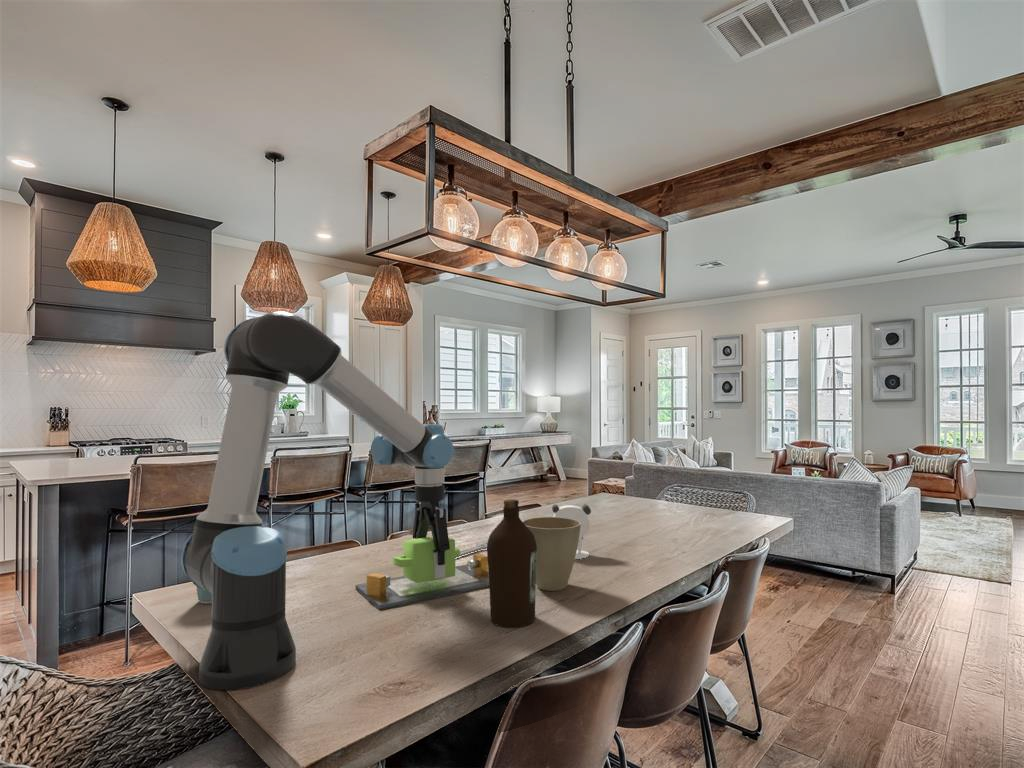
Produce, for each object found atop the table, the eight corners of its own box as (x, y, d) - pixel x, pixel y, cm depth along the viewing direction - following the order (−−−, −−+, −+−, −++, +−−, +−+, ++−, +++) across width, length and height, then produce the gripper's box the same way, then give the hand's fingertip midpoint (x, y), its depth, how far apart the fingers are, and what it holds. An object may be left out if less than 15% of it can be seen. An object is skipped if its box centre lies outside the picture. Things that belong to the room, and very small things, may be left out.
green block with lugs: (452, 567, 149) (451, 531, 150) (470, 574, 141) (470, 536, 142) (389, 578, 139) (389, 539, 140) (405, 586, 131) (405, 545, 132)
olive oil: (486, 629, 112) (484, 504, 113) (489, 610, 122) (487, 496, 123) (538, 629, 111) (536, 504, 113) (537, 610, 122) (535, 496, 123)
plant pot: (546, 600, 128) (545, 531, 129) (511, 584, 140) (510, 521, 141) (594, 588, 136) (593, 523, 137) (557, 574, 149) (556, 514, 149)
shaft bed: (504, 583, 141) (504, 561, 142) (379, 609, 124) (379, 585, 124) (471, 567, 157) (471, 547, 157) (355, 588, 139) (355, 566, 139)
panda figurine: (589, 550, 174) (588, 502, 175) (593, 559, 163) (592, 508, 163) (551, 550, 174) (550, 502, 175) (552, 560, 163) (551, 508, 164)
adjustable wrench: (443, 565, 161) (442, 559, 161) (429, 561, 166) (429, 555, 166) (502, 548, 180) (502, 542, 180) (489, 545, 184) (489, 539, 184)
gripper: (463, 488, 134) (464, 581, 133) (425, 479, 153) (426, 560, 152) (435, 490, 130) (435, 586, 129) (399, 481, 149) (400, 564, 148)
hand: (430, 572), depth 140 cm, fingers closed on green block with lugs, 10 cm apart
